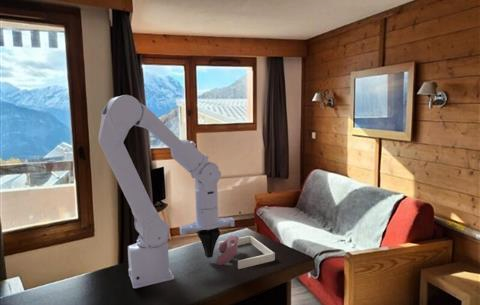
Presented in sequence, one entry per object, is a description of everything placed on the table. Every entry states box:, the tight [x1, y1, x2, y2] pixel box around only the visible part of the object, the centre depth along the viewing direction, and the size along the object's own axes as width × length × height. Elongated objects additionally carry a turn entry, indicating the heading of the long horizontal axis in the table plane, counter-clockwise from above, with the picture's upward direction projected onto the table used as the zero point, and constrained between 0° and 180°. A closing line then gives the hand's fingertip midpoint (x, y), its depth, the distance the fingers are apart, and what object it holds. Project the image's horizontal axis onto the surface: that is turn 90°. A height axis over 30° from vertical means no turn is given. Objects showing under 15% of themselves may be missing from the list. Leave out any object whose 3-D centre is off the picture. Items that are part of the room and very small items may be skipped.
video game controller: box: [215, 234, 240, 266], centre depth 93 cm, size 10×5×7 cm, turn 179°
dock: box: [217, 235, 276, 270], centre depth 95 cm, size 11×14×2 cm
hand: (208, 256), depth 90 cm, fingers closed
